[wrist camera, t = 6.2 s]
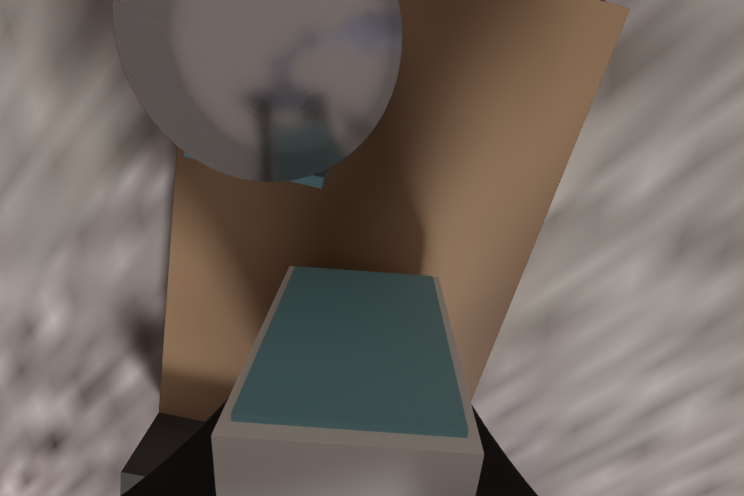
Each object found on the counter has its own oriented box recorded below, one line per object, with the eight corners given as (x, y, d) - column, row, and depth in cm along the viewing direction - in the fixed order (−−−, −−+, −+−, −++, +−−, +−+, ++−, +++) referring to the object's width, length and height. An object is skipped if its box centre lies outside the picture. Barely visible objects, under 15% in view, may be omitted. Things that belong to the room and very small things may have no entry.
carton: (415, 446, 14) (435, 686, 9) (289, 438, 14) (231, 672, 9) (439, 271, 12) (485, 446, 7) (289, 261, 12) (211, 426, 7)
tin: (413, -24, 10) (438, -89, 6) (372, 153, 12) (364, 213, 7) (238, -72, 10) (114, -180, 5) (218, 116, 12) (110, 154, 7)
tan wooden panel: (606, 13, 12) (695, -5, 8) (429, 467, 18) (440, 562, 14) (213, -94, 11) (139, -160, 8) (171, 416, 17) (120, 504, 14)
